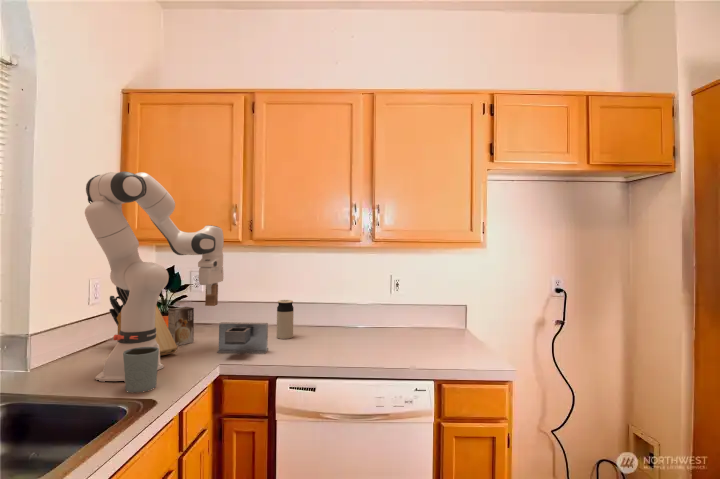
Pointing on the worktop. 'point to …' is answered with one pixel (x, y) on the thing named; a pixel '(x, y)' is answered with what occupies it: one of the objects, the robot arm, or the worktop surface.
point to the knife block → (163, 333)
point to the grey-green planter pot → (140, 368)
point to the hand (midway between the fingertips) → (211, 293)
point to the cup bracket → (243, 337)
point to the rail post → (212, 296)
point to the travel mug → (285, 319)
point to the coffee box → (181, 324)
